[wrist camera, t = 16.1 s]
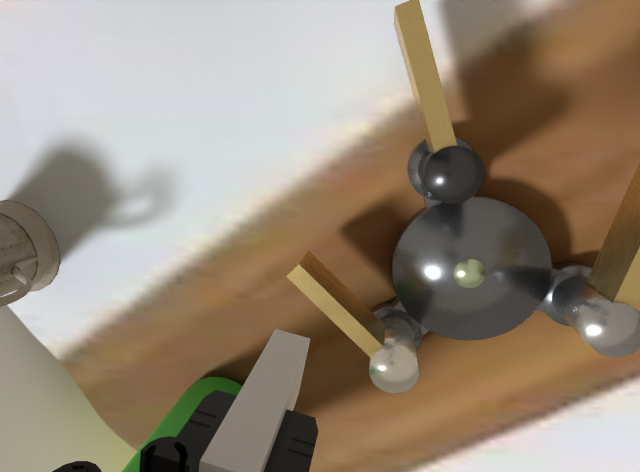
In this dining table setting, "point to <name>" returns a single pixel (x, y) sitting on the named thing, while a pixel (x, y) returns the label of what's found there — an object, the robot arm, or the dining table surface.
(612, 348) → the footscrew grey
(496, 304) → the tribrach plate
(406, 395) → the dining table surface
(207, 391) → the bottle
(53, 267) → the mug
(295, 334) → the robot arm
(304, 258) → the lever
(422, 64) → the black and tan lever
